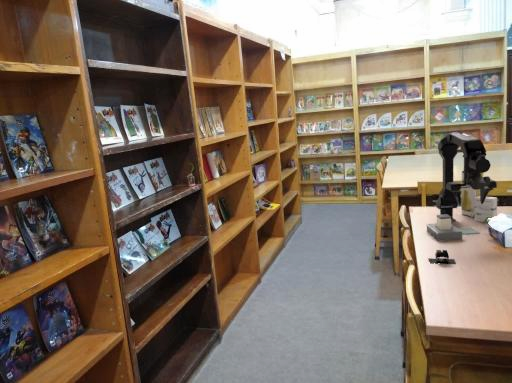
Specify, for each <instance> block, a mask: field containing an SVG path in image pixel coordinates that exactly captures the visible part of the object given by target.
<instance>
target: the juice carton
mask: <svg viewBox="0 0 512 383" xmlns="http://www.w3.org/2000/svg"><path fill="white" fill-rule="evenodd" d="M484 174H485V172H484V173H481V177H484ZM462 180H464V173H462V172H461V184H462V183H463V182H462ZM461 191H462V192H461V214H462V215H465V216H468V217H471V218H475V197H478V196H480V189H477V190H474V189H472V187H467V188H461Z"/></svg>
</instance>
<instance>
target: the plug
mask: <svg viewBox="0 0 512 383" xmlns="http://www.w3.org/2000/svg"><path fill="white" fill-rule="evenodd" d="M436 223H437V228H438V229H439V230H447V229H451V224H452V221H451V216H449V215H448V214H442V215H440V214H436Z"/></svg>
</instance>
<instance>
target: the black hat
mask: <svg viewBox="0 0 512 383" xmlns="http://www.w3.org/2000/svg"><path fill="white" fill-rule="evenodd" d="M434 256H435V258H431V257H429V258H427V260H428V263H429V262H430V265H457V262H456V260H455V258H450V256H449V253H448V250H447V249H442V250H441V249H436V251H435V254H434ZM434 263H435V264H434ZM438 263H440V264H438Z"/></svg>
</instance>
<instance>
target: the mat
mask: <svg viewBox="0 0 512 383" xmlns="http://www.w3.org/2000/svg"><path fill="white" fill-rule="evenodd" d="M457 228H458V227H457ZM458 229H459V230H461V231H462V236H463V235H475V234H480V233H481V232H480V231H478V230H476V229H475V228H473V227H459V228H458Z"/></svg>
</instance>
